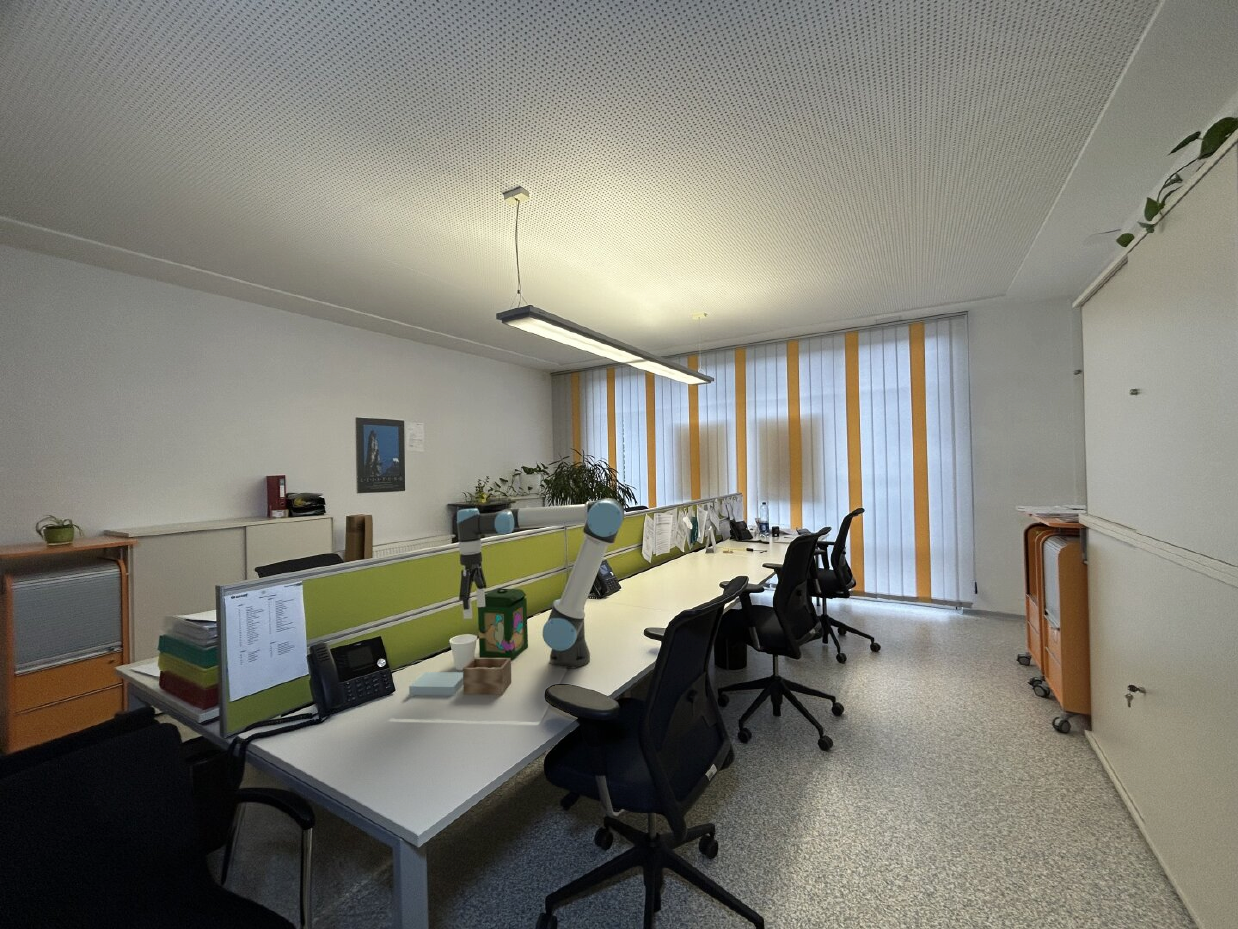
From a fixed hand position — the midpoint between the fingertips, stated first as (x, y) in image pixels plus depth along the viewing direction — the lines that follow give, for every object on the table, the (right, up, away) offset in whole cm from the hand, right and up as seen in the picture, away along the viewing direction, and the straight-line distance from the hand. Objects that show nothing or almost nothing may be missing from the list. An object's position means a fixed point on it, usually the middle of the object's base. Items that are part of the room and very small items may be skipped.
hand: (474, 612), depth 175 cm
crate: (+8, -22, -11) cm, 26 cm away
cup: (-6, -23, +7) cm, 25 cm away
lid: (-9, -23, -10) cm, 27 cm away
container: (+6, -23, +22) cm, 32 cm away
